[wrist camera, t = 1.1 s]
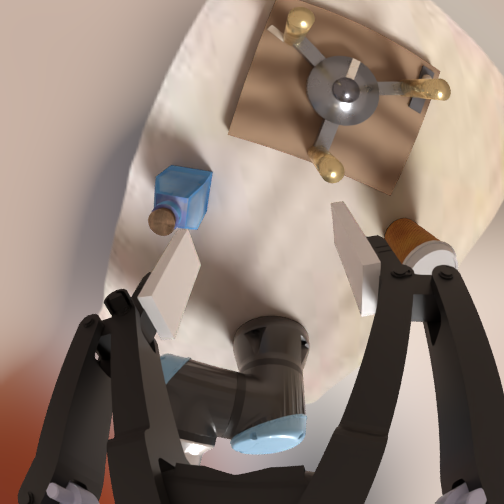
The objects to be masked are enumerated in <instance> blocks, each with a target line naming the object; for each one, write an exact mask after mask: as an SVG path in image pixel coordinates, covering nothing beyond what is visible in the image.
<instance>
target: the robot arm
mask: <svg viewBox="0 0 504 504" xmlns="http://www.w3.org/2000/svg"><path fill="white" fill-rule="evenodd" d="M331 209H332V219H333V229H334V241H335V246H336V248H337V251H338V253H339V256H340V258H341V261H342V264H343V266H344V269H345V272H346V274H347V277H348V280H349V283H350V285H351V288H352V291H353V294H354V297H355V299H356V302H357V305H358V308H359V311H360V314H361V317H363V316H368V315H373V314H375V317H374V321H373V324H372V328H371V332H370V336H369V339H368V343H367V346H366V350H365V353H364V356H363V360H362V363H361V366H360V369H359V372H358V376H357V379H356V381H355V384H354V387H353V390H352V393H351V396H350V398H349V401H348V404H347V406H346V409H345V412H344V414H343V417H342V419H341V422H340V424H339V426H338V427H337V428H336V429H335V431H334V433H333V435H332V437H331V439H330V442H329V443H328V446H327V448H326V450H325V452H324V455H323V457H322V459H321V461H320V463H319V465H318V467H317V469H316V471H315V472H310V471H305V468H304V466H303V465H302V466H290V467H271V468H266V469H262V470H258V471H253V472H249V473H245V474H239V475H232V474H229V473H225V472H222V471H218V470H215V469H212V468H209V467H206V466H200V463H201V459H202V455H203V454H204V453H205V452H206V451H208V450H210V449H212V448H213V447H214V446H215V442H216V438H217V437H222V438H227V439H231V441H230V444H231V446H232V448H233V449H234V450H235V451H239V452H241V453H246V454H270V453H276V452H281V451H285V450H288V449H290V448H293V447H295V446H297V445H298V444H299V443H301V442H302V440H303V439H304V437H305V434H306V419H307V416H306V412H305V411H306V410H305V396H304V383H303V369H304V366H305V363H306V360H307V356H308V353H309V337H308V334H307V332H306V330H305V329H304V328H303V327H302V326H301V325H300V324H298V323H297V322H295V321H293V320H290V319H287V318H283V317H277V316H267V317H260V318H256V319H253V320H250V321H248V322H246V323H245V324H243V325H242V326H241V327H240V328H239V329H238V330H237V332H236V334H235V337H234V343H233V351H234V355H235V359H236V362H237V365H238V369H239V372H235V371H231V370H227V369H223V368H219V367H216V366H212V365H208V364H205V363H201V362H198V361H195V360H191V358H189V357H188V358H184V357H180V356H176V355H173V354H164V355H162V356H160V355H159V349H158V344H157V342H156V340H155V339H154V336H155V334H156V332H157V333H158V335H159V337H160V338H161V340H167V339H175V337H176V334H177V331H178V328H179V325H180V322H181V319H182V316H183V314H184V311H185V308H186V305H187V302H188V299H189V297H190V294H191V291H192V288H193V286H194V283H195V280H196V277H197V275H198V272H199V269H200V266H201V264H200V261H199V258H198V255H197V253H196V250H195V247H194V244H193V241H192V238H191V235H190V233H189V230H188V229H183V230H178V231H177V232H176V233H175V235H174V236H173V238H172V240H171V241H170V243H169V244H168V246H167V248H166V249H165V251H164V253H163V254H162V256H161V258H160V259H159V261H158V263H157V264H156V266H155V268H154V269H153V271H152V272H149V273H148V274H147V275H146V276H144V277H143V278H142V280H141V282H140V283H139V285H138V287H137V288H136V290H135V292H134V294H133V295H132V297H130V295H129V293H128V292H127V290H125V289H119V290H116V291H114V292H112V293H111V294H109V295H108V296H107V297H106V299H105V300H104V304H105V305H106V307H107V309H108V310H109V312H110V314H111V315H112V318H108V319H105V320H101V319H100V317H99V316H98V315H97V314H92V315H88V316H87V317H85V318H84V319H83V320H82V321H81V323H80V324H79V327H78V329H77V331H76V333H75V336H74V338H73V340H72V343H71V345H70V348H69V350H68V353H67V355H66V358H65V360H64V363H63V366H62V368H61V371H60V374H59V376H58V379H57V382H56V385H55V388H54V391H53V394H52V398H51V400H50V403H49V406H48V410H47V413H46V417H45V420H44V424H43V427H42V431H41V435H40V439H39V443H38V447H37V452H36V457H35V458H34V460H33V462H32V464H31V467H30V468H29V471H28V473H27V475H26V477H25V479H24V481H23V483H22V485H21V488H20V490H19V493H18V503H19V504H99V502H98V501H99V499H100V496H101V492H102V487H103V482H104V473H105V463H106V454H107V456H108V464H109V471H110V478H111V484H112V489H113V495H114V500H115V504H364V502H365V500H366V498H367V496H368V493H369V490H370V488H371V486H372V483H373V481H374V478H375V476H376V473H377V471H378V468H379V465H380V462H381V459H382V456H383V453H384V451H385V447H386V444H387V440H388V433H389V429H390V425H391V422H392V418H393V415H394V410H395V407H396V403H397V399H398V394H399V390H400V385H401V381H402V376H403V371H404V364H405V359H406V354H407V347H408V340H409V333H410V326H411V321H416V322H423V324H424V329H425V333H426V338H427V343H428V348H429V353H430V358H431V365H432V371H433V378H434V385H435V392H436V401H437V411H438V422H439V439H440V479H441V487H442V494H443V496H441V497H440V498H439V499H438V500H437V502H435V504H504V393H503V388H502V385H501V380H500V377H499V373H498V370H497V366H496V363H495V359H494V356H493V353H492V350H491V347H490V344H489V341H488V338H487V336H486V333H485V330H484V328H483V325H482V322H481V320H480V317H479V315H478V312H477V310H476V308H475V305H474V303H473V301H472V298H471V296H470V294H469V292H468V290H467V287H466V285H465V283H464V281H463V279H462V277H461V275H460V273H459V272H458V270H457V269H455V268H454V267H452V266H449V265H439V266H436V267H435V268H434V269H433V271H432V275H420V274H415V273H414V270H413V269H412V268H411V267H409V266H407V265H404V264H401V262H400V261H399V259H398V258H397V256H396V255H395V253H394V252H393V251H392V249H391V247H390V246H389V244H388V243H387V241H386V240H385V239H383V238H382V237H380V236H378V235H377V236H370V237H366V236H365V235H364V233H363V231H362V230H361V228H360V227H359V225H358V223H357V222H356V220H355V219H354V217H353V215H352V214H351V212H350V211H349V209H348V208H347V206H346V205H345V203H344V202H343V201H342V202H335V203H331ZM95 352H96V353H97V355H98V356H99V358H98V360H96V359H95ZM112 412H113V422H114V433H115V435H114V436H115V437H114V438H113V439H110V440H108V438H109V431H110V424H111V418H112Z"/></svg>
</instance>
